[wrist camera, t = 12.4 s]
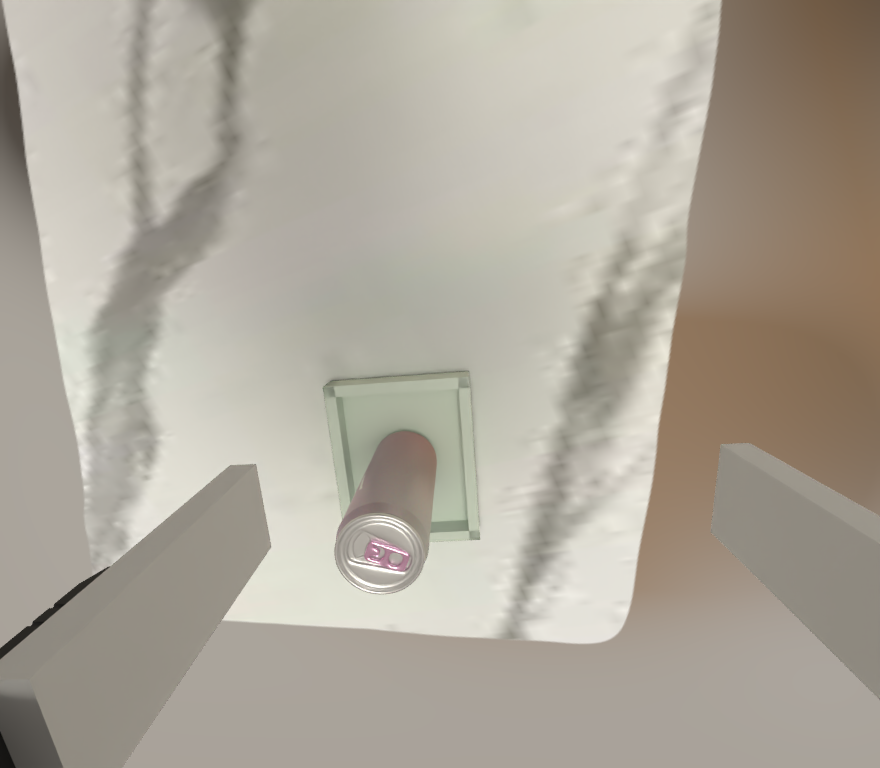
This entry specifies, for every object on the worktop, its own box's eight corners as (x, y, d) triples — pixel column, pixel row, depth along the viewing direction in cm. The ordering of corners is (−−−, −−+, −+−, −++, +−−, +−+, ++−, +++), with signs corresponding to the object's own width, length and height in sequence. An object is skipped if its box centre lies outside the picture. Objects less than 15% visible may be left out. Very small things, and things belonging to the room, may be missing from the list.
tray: (330, 380, 39) (322, 387, 37) (468, 371, 38) (469, 376, 36) (352, 531, 43) (346, 546, 40) (478, 525, 42) (479, 539, 40)
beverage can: (425, 494, 41) (409, 609, 26) (367, 474, 41) (319, 579, 26) (445, 441, 39) (441, 531, 25) (386, 420, 39) (347, 498, 25)
